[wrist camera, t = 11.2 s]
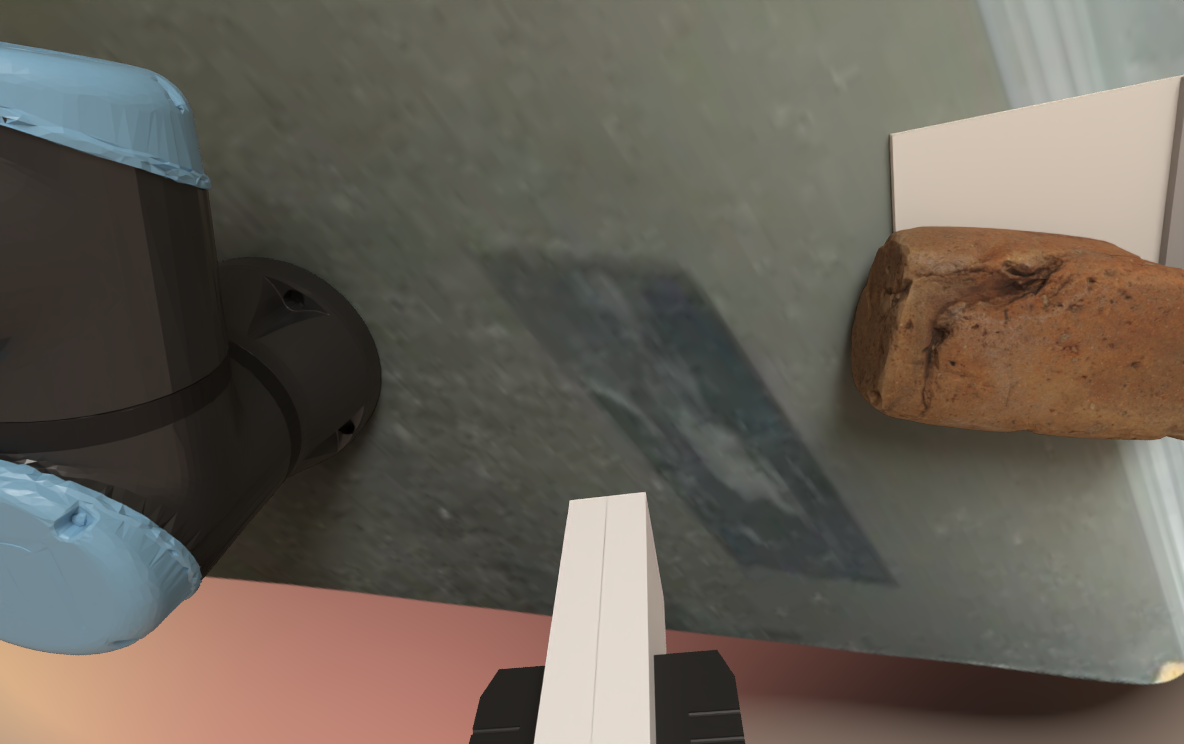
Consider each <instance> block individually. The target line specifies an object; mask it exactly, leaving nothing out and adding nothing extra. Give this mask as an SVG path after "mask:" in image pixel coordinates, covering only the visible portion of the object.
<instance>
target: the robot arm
mask: <svg viewBox="0 0 1184 744" xmlns="http://www.w3.org/2000/svg"><path fill="white" fill-rule="evenodd" d="M211 189H212V186H211V181H210V180H209V178H208V177H207V176H206V175H205V174H204V169H203V164H202V159H201V154H200V148H199V143H198V138H197V132H196V127H195V122H194V117H193V113H192V110H191V107H190V105H189V103H188V101H187V99H186V98H185V96H184V95H183V93H182V92H181V91H180V90H179V89H178V88H177V87H176V86H175V85H174V84H173V83H171V82H170V81H169V80H168V79H166V78H165V77H163V76H161V75H159V74H157V73H155V72H153V71H150V70H147V69H143V68H140V67H136V66H131V65H127V64H122V63H117V62H112V61H107V60H101V59H96V58H91V57H85V56H80V55H74V54H69V53H63V52H58V51H52V50H46V49H41V48H35V47H29V46H23V45H17V44H11V43H5V42H0V640H2V641H5V642H8V643H11V644H14V645H17V646H21V647H24V648H29V649H32V650H37V651H42V652H48V653H56V654H66V655H91V654H100V653H105V652H111V651H114V650H117V649H121V648H124V647H127V646H129V645H131V644H133V643H135V642H136V641H138V640H139V639H142V638H144V637H145V636H146V635H147V634H149V633H150V632H152V631H153V630H154V629H155V628H156V627H157V626H158V625H159V624H160V623H161V622H162V621H163V620H164V619H165V618H166V617H167V616H168V615H169V614H170V613H171V612H172V611H173V610H174V609H175V608H176V607H177V606H178V605H179V604H180V603H181V602H182V601H184V600H186V599H188V598H190V597H191V596H192V595H193V594H194V593H195V592H196V591H197V590H198V588H199V586H200V583H201V582H202V581H201V580H202V579H203V578H204V577H205V576H206V574H207V573H208V572H209V571H210V570H211V568H212V567H213V566H214V565H215V564H216V562H217V561H218V560H219V559H220V558H221V556H222V555H223V554H224V553H225V551H226V550H227V549H228V548H229V547H230V545H231V544H232V543H233V542H234V541H235V539H236V538H237V537H238V536H239V535H240V533H241V532H242V531H243V530H244V528H245V527H246V526H247V525H248V524H249V522H250V521H251V520H252V519H253V518H254V517H255V515H256V514H257V513H258V512H259V511H260V509H261V508H262V507H263V506H264V505H265V503H266V502H267V501H268V500H269V499H270V498H271V496H272V495H273V494H274V493H275V492H276V490H277V489H278V488H279V487H280V485H281V484H282V483H283V482H284V481H285V480H286V478H288V477H290V476H292V475H294V474H296V473H299V472H301V471H303V470H305V469H307V468H309V467H311V466H313V465H316V464H318V463H320V462H322V461H324V460H326V459H328V458H330V457H332V456H334V455H335V454H337V453H338V452H339V451H341V450H342V449H343V448H345V447H346V446H347V445H348V444H349V443H350V442H351V441H352V440H353V439H354V438H355V437H356V435H357V434H358V433H359V432H360V430H361V429H362V428H363V426H364V425H365V424H366V422H367V421H368V420H369V418H370V416H371V415H372V413H373V411H374V409H375V406H376V404H377V401H378V397H379V392H380V385H381V370H380V362H379V357H378V353H377V349H376V346H375V343H374V341H373V338H372V336H371V334H370V332H369V330H368V328H367V326H366V325H365V323H364V321H363V320H362V318H361V317H360V315H359V314H358V313H357V311H356V310H355V309H354V307H353V306H352V305H351V304H350V303H349V302H348V301H347V300H346V299H345V298H344V297H343V296H342V295H341V294H340V293H339V292H338V291H337V290H336V289H334V288H333V287H332V286H331V285H329V284H328V283H327V282H325V281H324V280H322V279H321V278H319V277H317V276H316V275H314V274H312V273H310V272H308V271H306V270H304V269H302V268H300V267H298V266H295V265H292V264H289V263H286V262H283V261H279V260H274V259H268V258H258V257H246V258H236V259H231V260H227V261H223V262H220V263H218V262H217V254H216V247H215V239H214V231H213V224H212V216H211V209H210V201H209V193H208V190H211ZM665 637H666V636H665V615H664V598H663V592H662V586H661V580H660V575H659V569H658V563H657V557H656V551H655V545H654V539H653V533H652V527H651V522H650V516H649V510H648V504H647V498H646V492H642V493H633V494H624V495H615V496H606V497H597V498H588V499H579V500H570V503H569V510H568V517H567V523H566V530H565V537H564V543H563V550H562V557H561V564H560V570H559V577H558V584H557V591H556V597H555V604H554V611H553V618H552V625H551V631H550V638H549V645H548V651H547V658H546V665H545V666H535V667H523V668H511V669H499V670H498V672H497V673H496V675H495V676H494V678H493V679H492V681H491V682H490V684H489V685H488V687H487V688H486V690H485V691H484V692H483V694H482V695H481V697H480V701H479V705H478V709H477V713H476V717H475V721H474V725H473V735H471V738H470V742H469V744H745V740H744V733H743V727H742V720H741V714H740V707H739V701H738V695H737V688H736V681H735V676H734V674H733V673H732V671H731V670H730V668H729V667H728V665H727V664H726V662H725V661H724V659H723V658H722V657H721V655H720V654H719V652H718V651H717V650H710V651H698V652H685V653H673V654H666V638H665Z"/></svg>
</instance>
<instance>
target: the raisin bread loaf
mask: <svg viewBox="0 0 1184 744" xmlns="http://www.w3.org/2000/svg"><path fill="white" fill-rule="evenodd" d="M851 340H852V350H851V365H852V377H853V380H854V383H855V386H856V387H857V389H858V390H859V392H860V393H861V395H862V396H863V397H864V398H865V400H866V401H867V402H868V403H870V404H871V405H872V406H873V407H874V408H876V409H877V410H879V411H880V412H882V413H883V414H885V415H887V416H891V417H895V418H900V419H905V420H910V421H914V422H919V423H925V424H930V425H937V426H946V427H955V428H963V429H972V430H981V431H994V432H1013V431H1019V430H1027V431H1031V432H1033V433H1036V434H1044V435H1054V436H1063V437H1075V438H1100V439H1122V440H1155V439H1161V438H1163V437H1165V436H1168V437H1172V438H1176V439H1180V440H1184V270H1183V269H1181V268H1175V267H1168V266H1164V265H1161V264H1158V263H1155V262H1151V261H1147V260H1144V259H1141V258H1140V256H1138V255H1135V254H1133V253H1131V252H1129V251H1126V250H1124V249H1122V248H1120V247H1118V246H1116V245H1115V244H1112V243H1109V242H1106V241H1103V240H1097V239H1092V238H1086V237H1079V236H1070V235H1063V234H1054V233H1045V232H1034V231H1022V230H1010V229H997V228H980V227H952V226H922V227H916V228H912V229H905V230H900V231H896V232H894V233H892V234H891V236H890V237H889V238H888V240H887V241H886V243H885V244H884V246H882V247H880V248H879V249H878V251H877V254H876V257H875V259H874V262H873V264H872V267H871V269H870V272H869V276H868V283H867V286H866V287H865V288H864V289H863V291H862V293H861V296H860V299H859V303H858V307H857V311H856V314H855V319H854V323H853V327H852V338H851Z"/></svg>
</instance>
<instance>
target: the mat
mask: <svg viewBox="0 0 1184 744" xmlns="http://www.w3.org/2000/svg"><path fill="white" fill-rule="evenodd" d="M890 159H891V186H892V213H893V233H894V232H896V231H900V230H905V229H912V228H916V227H922V226H952V227H980V228H997V229H1010V230H1022V231H1034V232H1045V233H1054V234H1063V235H1070V236H1079V237H1086V238H1092V239H1097V240H1103V241H1106V242H1109V243H1112V244H1115V245H1116V246H1118V247H1120V248H1122V249H1124V250H1126V251H1129V252H1131V253H1133V254H1135V255H1138V256H1140V258H1141V259H1144V260H1147V261H1151V262H1155V263H1158V264H1161V265H1164V266H1168V267H1175V268H1181V269H1183V270H1184V75H1180V76H1175V77H1170V78H1165V79H1160V80H1155V81H1150V82H1145V83H1141V84H1136V85H1131V86H1126V87H1121V88H1116V89H1111V90H1106V91H1101V92H1096V93H1091V94H1086V95H1081V96H1076V97H1071V98H1066V99H1061V100H1056V101H1052V102H1047V103H1042V104H1037V105H1032V106H1027V107H1022V108H1017V109H1012V110H1007V111H1002V112H997V113H992V114H987V115H982V116H977V117H972V118H967V119H963V120H958V121H953V122H948V123H943V124H938V125H933V126H928V127H923V128H918V129H913V130H908V131H903V132H898V133H893V134H890Z"/></svg>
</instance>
